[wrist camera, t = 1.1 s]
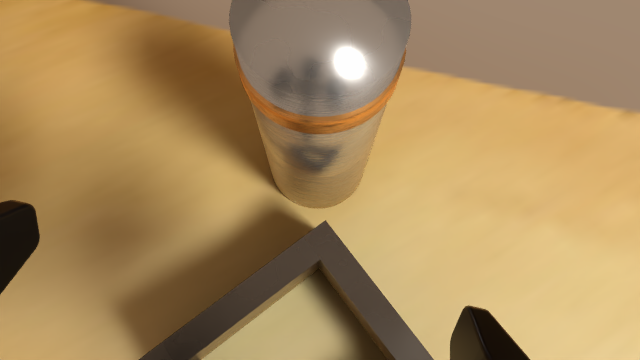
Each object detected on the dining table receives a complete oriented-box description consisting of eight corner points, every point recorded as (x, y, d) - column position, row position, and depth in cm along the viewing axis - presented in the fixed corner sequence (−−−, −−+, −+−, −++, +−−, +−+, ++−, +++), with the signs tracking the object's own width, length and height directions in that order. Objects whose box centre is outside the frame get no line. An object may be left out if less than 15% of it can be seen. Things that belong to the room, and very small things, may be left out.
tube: (385, 172, 23) (454, 31, 12) (307, 230, 22) (300, 137, 11) (326, 102, 24) (336, -87, 13) (250, 154, 23) (189, -2, 12)
